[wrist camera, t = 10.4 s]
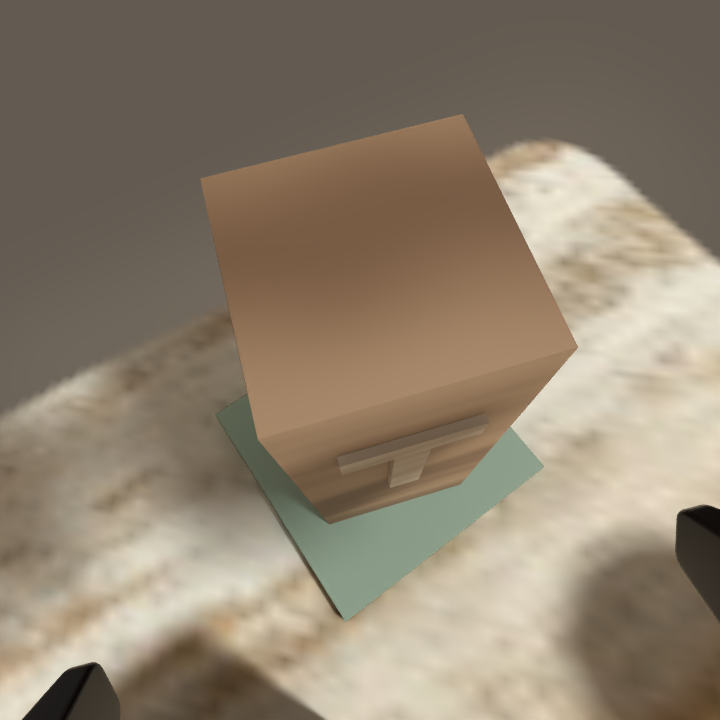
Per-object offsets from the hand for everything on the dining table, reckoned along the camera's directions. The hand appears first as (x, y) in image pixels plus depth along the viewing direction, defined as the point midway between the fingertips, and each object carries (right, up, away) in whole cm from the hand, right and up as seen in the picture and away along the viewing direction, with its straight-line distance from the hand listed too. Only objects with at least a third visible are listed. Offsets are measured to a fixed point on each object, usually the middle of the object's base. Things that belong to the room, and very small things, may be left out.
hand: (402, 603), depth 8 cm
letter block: (0, +1, +12) cm, 12 cm away
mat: (0, 0, +13) cm, 13 cm away
